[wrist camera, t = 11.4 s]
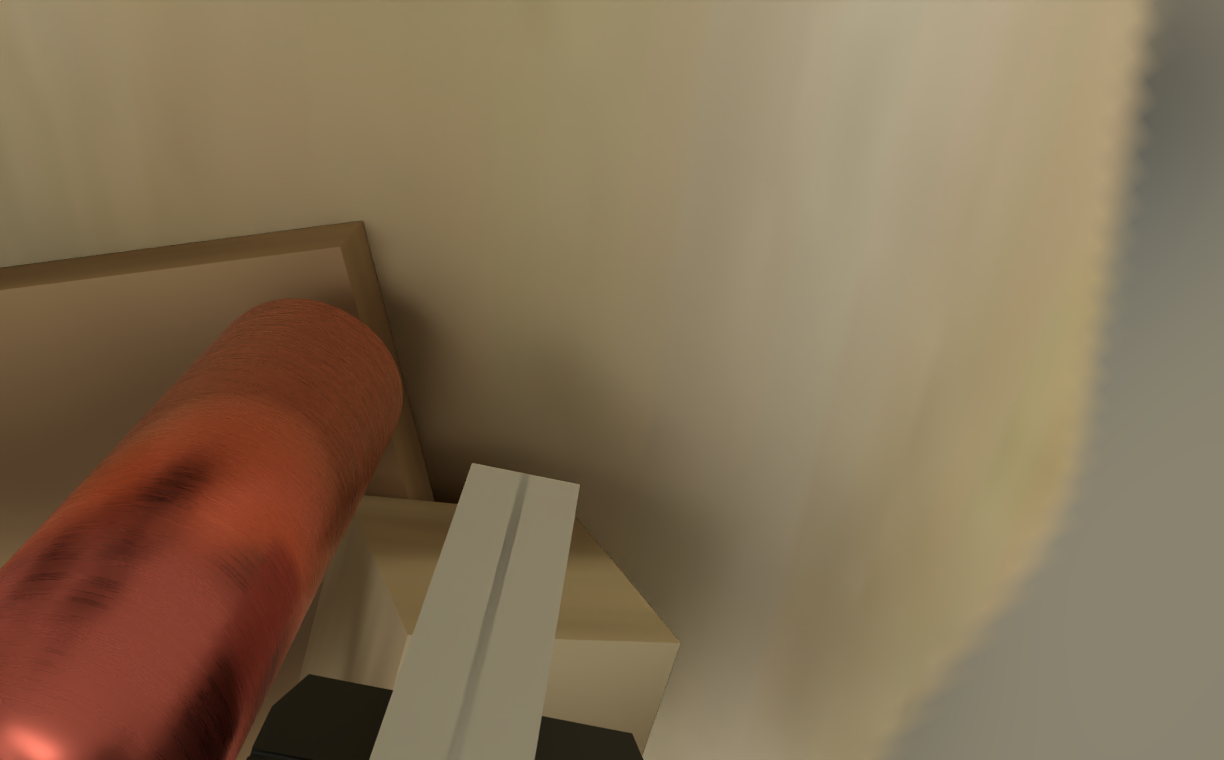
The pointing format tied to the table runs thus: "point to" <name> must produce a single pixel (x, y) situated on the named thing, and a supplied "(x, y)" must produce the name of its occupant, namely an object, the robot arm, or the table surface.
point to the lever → (196, 546)
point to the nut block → (585, 634)
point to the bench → (160, 363)
